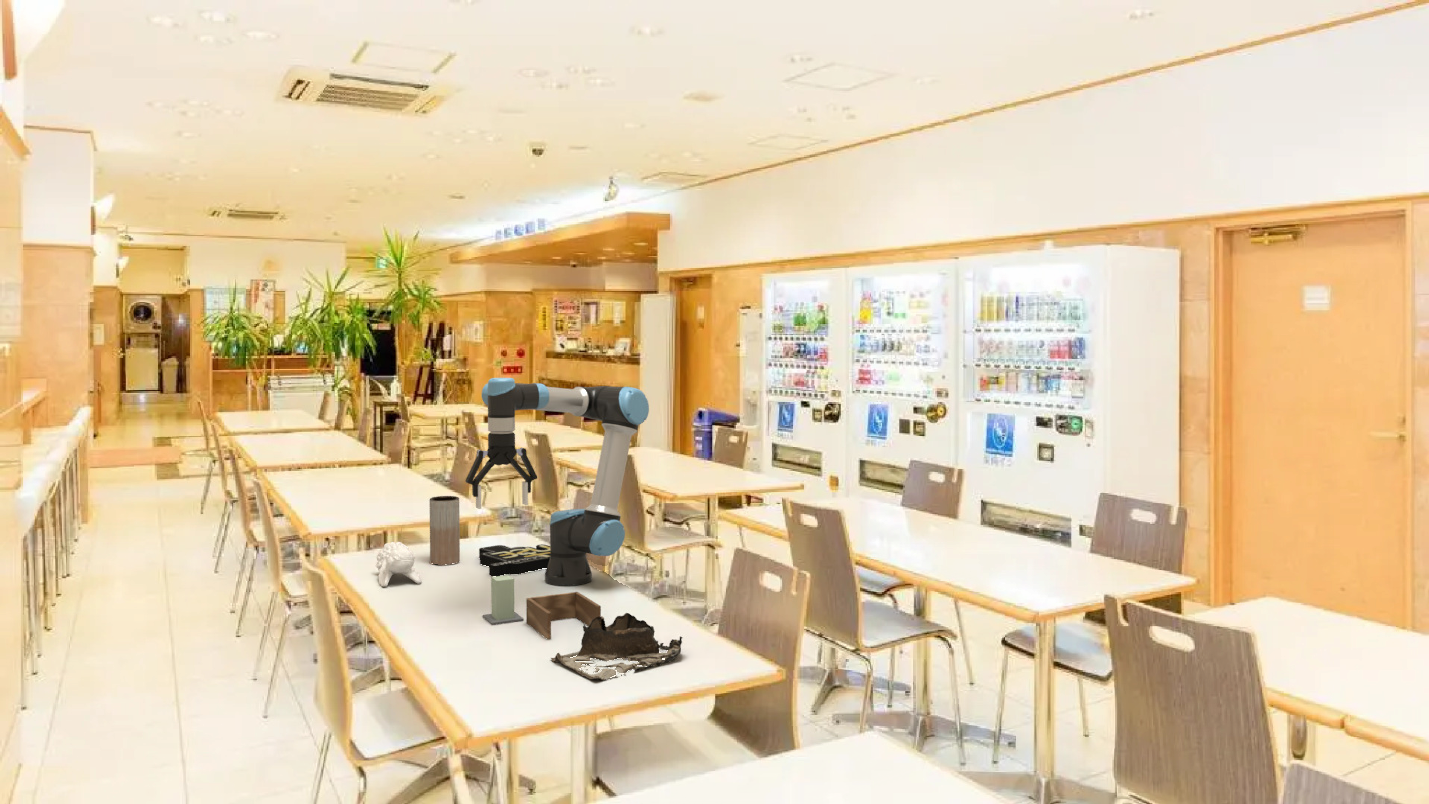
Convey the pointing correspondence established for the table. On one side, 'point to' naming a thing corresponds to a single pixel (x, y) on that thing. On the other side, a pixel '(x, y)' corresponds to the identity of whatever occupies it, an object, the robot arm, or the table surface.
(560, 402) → the robot arm
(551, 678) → the table surface
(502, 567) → the sign
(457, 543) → the planter
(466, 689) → the table surface
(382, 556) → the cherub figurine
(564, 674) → the table surface
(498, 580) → the block
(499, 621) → the mat
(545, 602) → the brown wooden frame
